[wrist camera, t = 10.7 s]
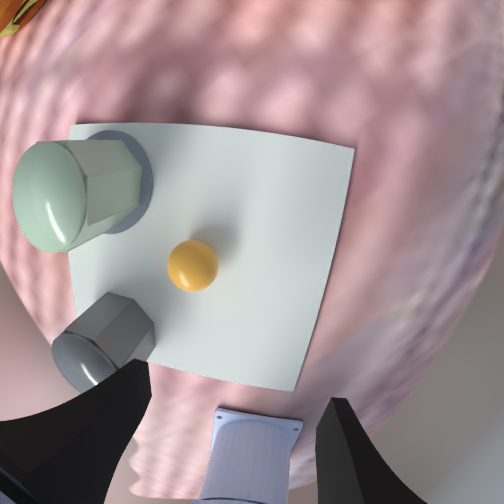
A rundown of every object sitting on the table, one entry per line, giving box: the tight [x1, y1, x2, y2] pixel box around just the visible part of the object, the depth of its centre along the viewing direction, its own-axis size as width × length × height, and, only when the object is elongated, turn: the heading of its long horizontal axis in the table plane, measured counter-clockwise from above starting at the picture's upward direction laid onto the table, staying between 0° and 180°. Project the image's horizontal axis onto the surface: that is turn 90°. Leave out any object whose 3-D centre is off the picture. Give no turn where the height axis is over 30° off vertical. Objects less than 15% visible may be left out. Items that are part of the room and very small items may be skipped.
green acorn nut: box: [12, 140, 142, 253], centre depth 14 cm, size 6×6×6 cm
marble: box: [167, 240, 219, 292], centre depth 17 cm, size 3×3×3 cm
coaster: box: [86, 130, 153, 234], centre depth 17 cm, size 7×7×1 cm
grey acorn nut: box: [52, 292, 155, 393], centre depth 18 cm, size 6×6×6 cm
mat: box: [68, 123, 355, 392], centre depth 19 cm, size 18×19×1 cm
